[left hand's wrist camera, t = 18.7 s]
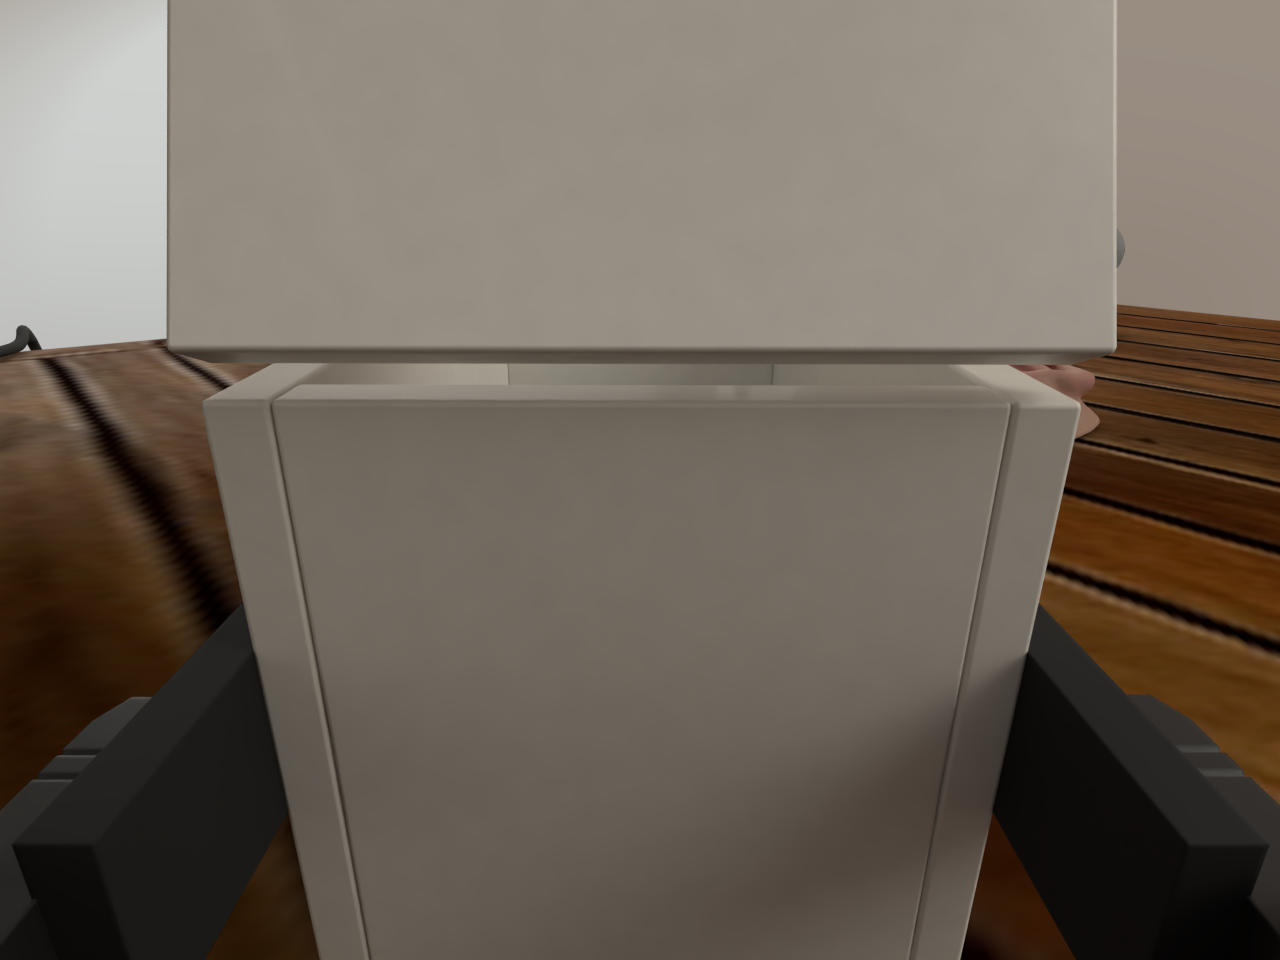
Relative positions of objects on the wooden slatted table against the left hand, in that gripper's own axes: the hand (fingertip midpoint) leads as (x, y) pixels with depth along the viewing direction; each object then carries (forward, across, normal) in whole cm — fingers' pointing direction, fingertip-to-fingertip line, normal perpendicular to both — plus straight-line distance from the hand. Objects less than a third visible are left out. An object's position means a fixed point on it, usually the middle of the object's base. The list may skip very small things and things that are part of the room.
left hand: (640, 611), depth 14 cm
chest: (+5, 0, -6) cm, 8 cm away
